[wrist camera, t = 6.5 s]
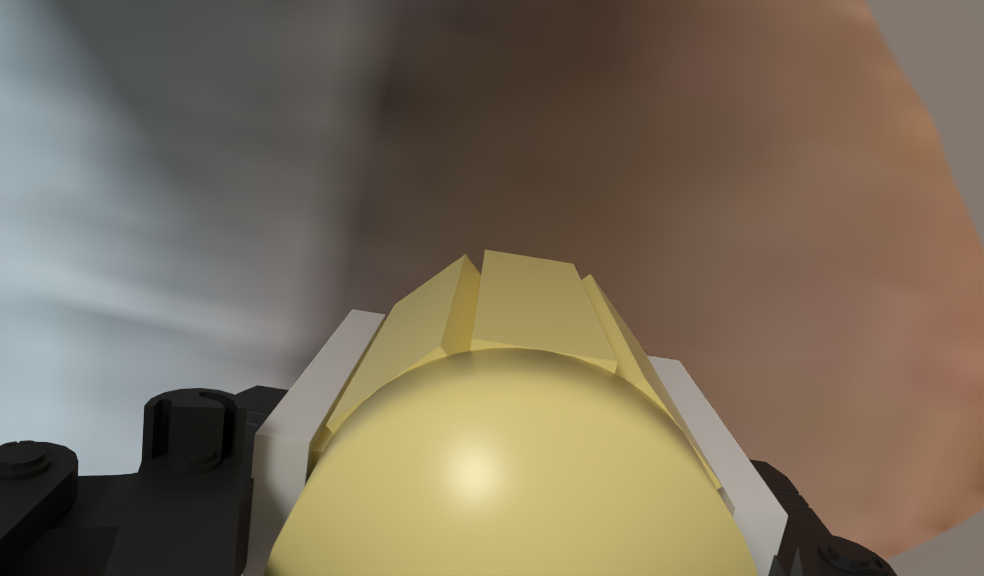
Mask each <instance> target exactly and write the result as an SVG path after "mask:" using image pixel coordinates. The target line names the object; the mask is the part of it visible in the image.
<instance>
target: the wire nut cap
mask: <svg viewBox="0 0 984 576" xmlns="http://www.w3.org/2000/svg"><path fill="white" fill-rule="evenodd" d="M720 487H722V485H721V483H720V481H719V480H718V478H717V476H716V475H715V473H714V471H713V469H712V468H711V466H710V464H709V462H708V461H707V459H706V457H705V456H704V454H703V452H702V450H701V449H700V447H699V445H698V443H697V442H696V440H695V438H694V437H693V435H692V433H691V431H690V430H689V428H688V426H687V424H686V423H685V421H684V419H683V418H682V416H681V414H680V412H679V411H678V409H677V407H676V405H675V404H674V402H673V400H672V399H671V397H670V395H669V393H668V392H667V390H666V388H665V386H664V385H663V383H662V381H661V380H660V378H659V376H658V374H657V373H656V371H655V369H654V367H653V366H652V364H651V362H650V361H649V359H648V357H647V355H646V354H645V352H644V350H643V348H642V347H641V345H640V343H639V342H638V340H637V339H636V338H635V336H634V335H633V333H632V332H631V331H630V329H629V328H628V326H627V325H626V324H625V322H624V321H623V319H622V318H621V316H620V315H619V314H618V312H617V311H616V309H615V308H614V307H613V305H612V304H611V302H610V301H609V300H608V298H607V297H606V295H605V294H604V293H603V291H602V290H601V288H600V287H599V285H598V284H597V283H596V281H595V280H594V278H593V277H592V276H591V274H590V275H588V276H587V277H585V278H584V279H583V280H581V279H580V277H579V275H578V272H577V270H576V268H575V266H574V264H572V263H566V262H560V261H553V260H547V259H541V258H535V257H529V256H522V255H516V254H510V253H504V252H497V251H491V250H485V253H484V259H483V265H482V271H481V274H480V273H479V272H478V270H477V269H476V268H475V266H474V265H473V264H472V262H471V261H470V259H469V258H468V257H467V255H466V254H465V255H463V256H462V257H461V258H459V259H458V260H456V261H455V262H454V263H452V264H451V265H449V266H448V267H447V268H445V269H444V270H442V271H441V272H440V273H438V274H437V275H435V276H434V277H433V278H431V279H430V280H428V281H427V282H426V283H424V284H423V285H421V286H420V287H419V288H417V289H416V290H414V291H413V292H412V293H410V294H409V295H407V296H406V297H405V298H403V299H402V300H400V301H399V302H398V303H396V304H395V305H394V307H393V308H392V310H391V312H390V314H389V315H388V317H387V319H386V321H385V322H384V324H383V326H382V328H381V329H380V331H379V333H378V335H377V336H376V338H375V340H374V342H373V343H372V345H371V347H370V349H369V350H368V352H367V354H366V356H365V357H364V359H363V361H362V363H361V364H360V366H359V368H358V370H357V371H356V373H355V375H354V377H353V378H352V380H351V382H350V384H349V385H348V387H347V389H346V391H345V392H344V394H343V396H342V398H341V399H340V401H339V403H338V405H337V406H336V408H335V410H334V412H333V413H332V415H331V417H330V419H329V421H328V422H327V424H326V428H325V429H324V431H323V433H322V435H321V436H320V438H319V440H318V442H317V443H316V445H315V447H314V449H313V451H312V460H311V470H310V477H309V479H308V481H307V483H306V485H305V487H304V489H303V491H302V492H301V494H300V496H299V498H298V500H297V502H296V504H295V506H294V507H293V509H292V511H291V513H290V515H289V517H288V519H287V521H286V523H285V524H284V526H283V528H282V530H281V532H280V534H279V536H278V538H277V540H276V542H275V544H274V546H273V548H272V551H271V554H270V557H269V560H268V563H267V566H266V569H265V572H264V575H263V576H758V574H757V570H756V566H755V563H754V561H753V558H752V556H751V553H750V551H749V549H748V546H747V544H746V542H745V539H744V537H743V535H742V533H741V532H740V530H739V528H738V526H737V524H736V523H735V521H734V519H733V517H732V515H731V514H730V512H729V510H728V508H727V507H726V505H725V503H724V501H723V499H722V498H721V496H720V494H719V492H718V490H717V489H719V488H720Z"/></svg>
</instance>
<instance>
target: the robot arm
mask: <svg viewBox="0 0 984 576" xmlns="http://www.w3.org/2000/svg"><path fill="white" fill-rule="evenodd" d="M384 322H385V314H379V313H373V312H366V311H360V310H354V309H352V310H351V312H350V313H349V314H348V315H347V317H346V318H345V319H344V320H343V322H342V323H341V324H340V326H339V327H338V328H337V329H336V331H335V332H334V333H333V335H332V336H331V337H330V338H329V340H328V341H327V342H326V344H325V345H324V346H323V347H322V349H321V350H320V351H319V353H318V354H317V355H316V356H315V358H314V359H313V360H312V362H311V363H310V364H309V365H308V367H307V368H306V369H305V371H304V372H303V373H302V374H301V376H300V377H299V378H298V379H297V381H296V382H295V383H294V385H293V386H292V387H291V388H290V390H284V389H277V388H271V387H264V386H258V385H257V386H255V387H252V388H250V389H247V390H245V391H243V392H240V393H238V394H236V395H234V394H231V393H227V392H224V391H220V390H214V389H204V388H192V389H179V390H174V391H169V392H164V393H162V394H160V395H157V396H155V397H153V398H151V399H150V400H149V401H148V402H147V403H146V405H145V406H144V424H143V445H142V462H141V465H140V467H139V470H138V473H133V474H123V475H102V476H78V459H77V456H76V453H75V452H73V451H72V450H70V449H69V448H67V447H65V446H62V445H58V444H53V443H49V442H34V441H31V440H28V441H20V442H19V443H17V441H16V442H9V443H5V444H3V445H1V446H0V576H241V575H242V573H243V576H263V575H264V572H265V569H266V566H267V563H268V560H269V557H270V554H271V551H272V548H273V546H274V544H275V542H276V540H277V538H278V536H279V534H280V532H281V530H282V528H283V526H284V524H285V523H286V521H287V519H288V517H289V515H290V513H291V511H292V509H293V507H294V506H295V504H296V502H297V500H298V498H299V496H300V494H301V492H302V491H303V489H304V487H305V485H306V483H307V481H308V479H309V477H310V470H311V460H312V451H313V449H314V447H315V445H316V443H317V442H318V440H319V438H320V436H321V435H322V433H323V431H324V429H325V428H326V424H327V422H328V421H329V419H330V417H331V415H332V413H333V412H334V410H335V408H336V406H337V405H338V403H339V401H340V399H341V398H342V396H343V394H344V392H345V391H346V389H347V387H348V385H349V384H350V382H351V380H352V378H353V377H354V375H355V373H356V371H357V370H358V368H359V366H360V364H361V363H362V361H363V359H364V357H365V356H366V354H367V352H368V350H369V349H370V347H371V345H372V343H373V342H374V340H375V338H376V336H377V335H378V333H379V331H380V329H381V328H382V326H383V324H384ZM647 357H648V359H649V361H650V362H651V364H652V366H653V367H654V369H655V371H656V373H657V374H658V376H659V378H660V380H661V381H662V383H663V385H664V386H665V388H666V390H667V392H668V393H669V395H670V397H671V399H672V400H673V402H674V404H675V405H676V407H677V409H678V411H679V412H680V414H681V416H682V418H683V419H684V421H685V423H686V424H687V426H688V428H689V430H690V431H691V433H692V435H693V437H694V438H695V440H696V442H697V443H698V445H699V447H700V449H701V450H702V452H703V454H704V456H705V457H706V459H707V461H708V462H709V464H710V466H711V468H712V469H713V471H714V473H715V475H716V476H717V478H718V480H719V481H720V483H721V485H722V487H720V488H719V489H717V490H718V492H719V494H720V496H721V498H722V499H723V501H724V503H725V505H726V507H727V508H728V510H729V512H730V514H731V515H732V517H733V519H734V521H735V523H736V524H737V526H738V528H739V530H740V532H741V533H742V535H743V537H744V539H745V542H746V544H747V546H748V549H749V551H750V553H751V556H752V558H753V561H754V563H755V566H756V570H757V574H758V576H897V575H896V573H895V572H894V571H893V569H892V568H891V566H890V565H889V564H888V563H887V562H886V561H884V560H883V559H882V558H881V557H880V556H878V555H877V554H876V553H874V552H872V551H870V550H869V549H867V548H865V547H863V546H861V545H860V544H857V543H855V542H852V541H849V540H847V539H844V538H841V537H838V536H833V535H832V534H831V533H830V532H829V531H828V529H827V528H826V527H825V525H824V524H823V523H822V522H821V520H820V519H819V518H818V516H817V515H816V514H815V512H814V511H813V510H812V509H811V508H809V507H808V506H809V505H808V503H807V502H806V501H805V500H804V498H803V497H802V496H801V495H799V492H798V491H797V489H796V488H795V487H794V485H793V484H792V483H791V481H790V480H789V479H788V478H787V477H786V476H785V475H783V474H782V473H781V472H779V471H778V470H776V469H775V468H774V467H772V466H771V465H769V464H768V463H767V462H762V461H756V460H749V459H748V458H747V456H746V455H745V454H744V452H743V451H742V449H741V448H740V446H739V445H738V444H737V442H736V441H735V439H734V438H733V437H732V435H731V434H730V432H729V431H728V429H727V428H726V427H725V425H724V424H723V422H722V421H721V419H720V418H719V417H718V415H717V414H716V412H715V411H714V409H713V408H712V407H711V405H710V404H709V402H708V401H707V400H706V398H705V397H704V395H703V394H702V392H701V391H700V390H699V388H698V387H697V385H696V384H695V382H694V381H693V380H692V378H691V377H690V375H689V374H688V372H687V371H686V370H685V368H684V367H683V365H682V364H681V363H680V361H678V360H672V359H665V358H659V357H653V356H647Z"/></svg>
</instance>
